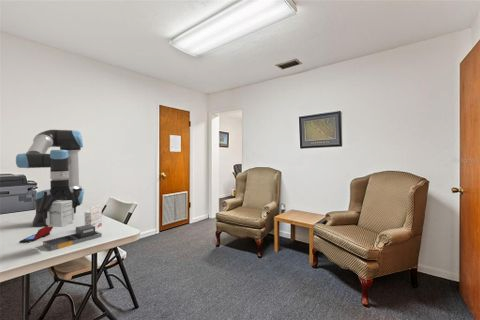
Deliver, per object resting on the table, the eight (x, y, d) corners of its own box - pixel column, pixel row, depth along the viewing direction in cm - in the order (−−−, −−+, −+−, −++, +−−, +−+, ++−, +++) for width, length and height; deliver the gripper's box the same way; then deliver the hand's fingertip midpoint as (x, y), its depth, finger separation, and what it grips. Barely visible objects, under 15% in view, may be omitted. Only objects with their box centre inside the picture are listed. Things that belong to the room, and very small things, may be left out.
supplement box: (47, 227, 114) (46, 202, 114) (59, 222, 121) (59, 199, 121) (61, 227, 113) (60, 202, 113) (72, 223, 121) (72, 199, 121)
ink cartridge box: (95, 226, 149) (95, 204, 148) (102, 226, 148) (101, 204, 148) (84, 230, 140) (84, 207, 140) (91, 231, 139) (90, 207, 139)
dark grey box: (75, 238, 126) (75, 227, 126) (89, 234, 132) (89, 224, 132) (81, 240, 122) (81, 229, 122) (95, 236, 128) (95, 226, 128)
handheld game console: (36, 235, 133) (36, 222, 133) (56, 234, 134) (56, 222, 134) (17, 243, 120) (17, 229, 120) (39, 242, 122) (39, 229, 121)
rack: (42, 246, 116) (42, 241, 116) (92, 233, 135) (92, 229, 135) (51, 252, 109) (51, 246, 109) (101, 237, 128) (101, 233, 128)
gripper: (33, 181, 106) (34, 229, 106) (87, 178, 124) (87, 218, 124) (28, 180, 110) (29, 226, 110) (81, 177, 128) (81, 216, 129)
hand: (60, 221), depth 117 cm, fingers closed on supplement box, 10 cm apart
